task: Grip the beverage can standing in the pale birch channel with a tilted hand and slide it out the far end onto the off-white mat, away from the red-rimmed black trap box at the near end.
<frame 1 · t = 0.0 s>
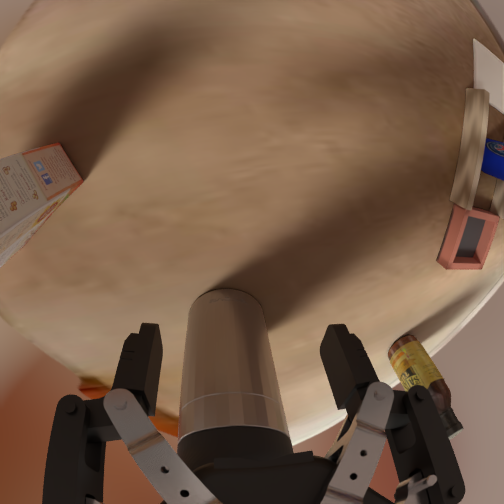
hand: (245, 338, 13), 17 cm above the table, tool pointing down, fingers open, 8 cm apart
sauce bottle: (400, 346, 41), on the table
beverage can: (483, 154, 27), on the table
trap box: (465, 234, 32), on the table
cracker box: (37, 197, 24), on the table
channel: (484, 155, 27), on the table
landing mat: (491, 77, 21), on the table
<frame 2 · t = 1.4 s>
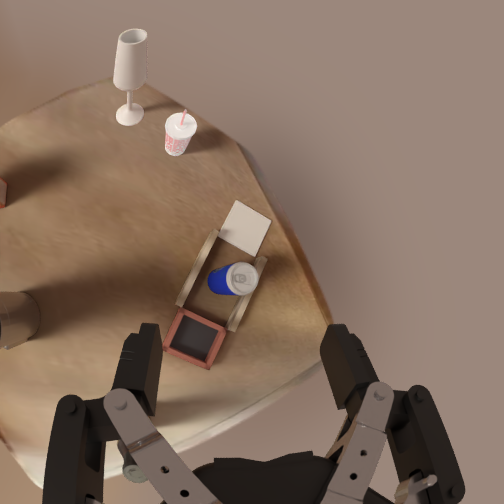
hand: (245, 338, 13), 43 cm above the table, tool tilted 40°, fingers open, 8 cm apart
sauce bottle: (135, 417, 46), on the table
beverage cup: (175, 147, 56), on the table
beverage can: (219, 281, 56), on the table
trap box: (193, 337, 52), on the table
channel: (219, 281, 56), on the table
champagne flute: (129, 114, 53), on the table
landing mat: (245, 228, 59), on the table
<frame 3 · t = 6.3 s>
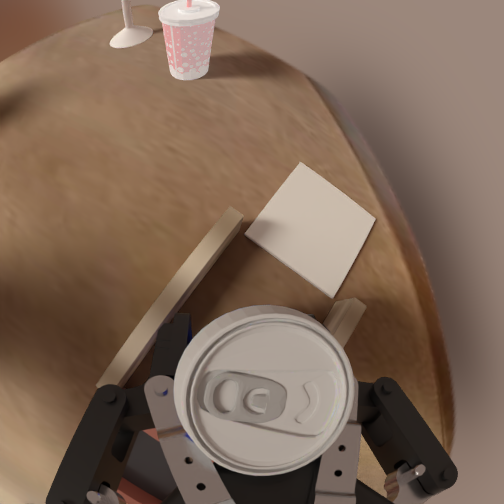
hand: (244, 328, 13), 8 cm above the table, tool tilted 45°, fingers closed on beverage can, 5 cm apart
beverage cup: (189, 70, 27), on the table
beverage can: (231, 348, 21), on the table, touching gripper
trap box: (147, 457, 17), on the table
channel: (231, 349, 21), on the table
champagne flute: (131, 37, 28), on the table
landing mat: (315, 226, 24), on the table
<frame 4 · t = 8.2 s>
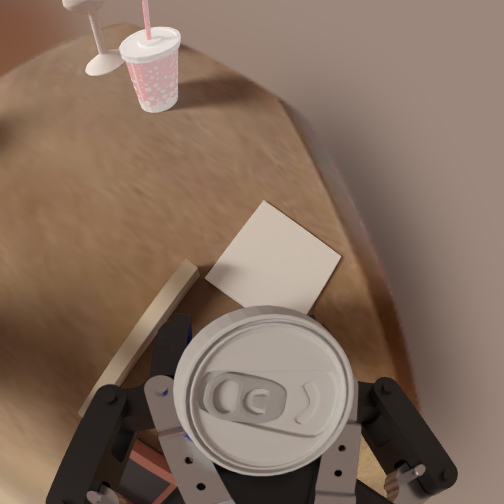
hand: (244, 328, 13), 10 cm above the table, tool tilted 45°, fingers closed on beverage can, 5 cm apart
beverage cup: (159, 100, 28), on the table
beverage can: (231, 349, 21), point 2 cm above the table, touching gripper
trap box: (126, 470, 18), on the table
channel: (193, 383, 21), on the table
champagne flute: (106, 62, 29), on the table
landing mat: (276, 267, 25), on the table
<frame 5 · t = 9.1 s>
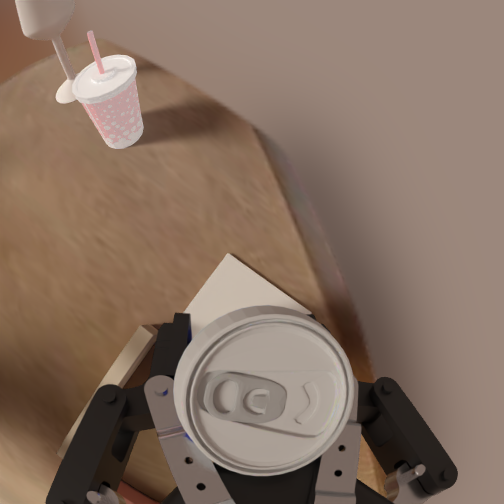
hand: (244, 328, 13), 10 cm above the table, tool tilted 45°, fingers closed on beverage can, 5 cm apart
beverage cup: (124, 133, 26), on the table
beverage can: (231, 349, 21), point 2 cm above the table, touching gripper
trap box: (105, 499, 16), on the table
channel: (160, 433, 20), on the table
champagne flute: (76, 87, 27), on the table
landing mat: (239, 326, 23), on the table
when the fingers open (10 cm above the table, at t = 10.3 s): beverage can stays where it is, resting on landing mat.
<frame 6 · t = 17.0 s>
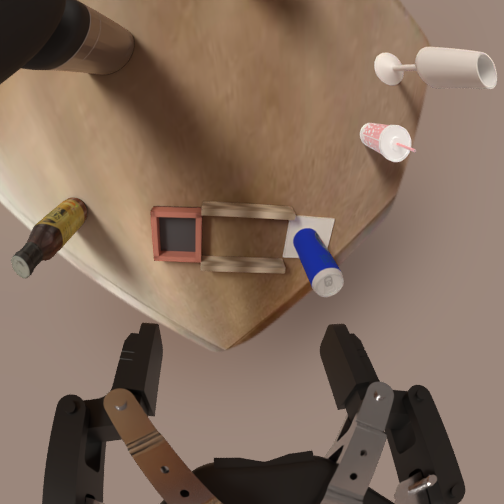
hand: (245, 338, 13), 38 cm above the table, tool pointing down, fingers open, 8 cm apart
sauce bottle: (75, 210, 46), on the table
beverage cup: (370, 134, 45), on the table
beverage can: (304, 238, 54), resting on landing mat
trap box: (178, 231, 51), on the table
channel: (244, 234, 53), on the table
champagne flute: (388, 69, 38), on the table
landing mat: (308, 237, 54), on the table
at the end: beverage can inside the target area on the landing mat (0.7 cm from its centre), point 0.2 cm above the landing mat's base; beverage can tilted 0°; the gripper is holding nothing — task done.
